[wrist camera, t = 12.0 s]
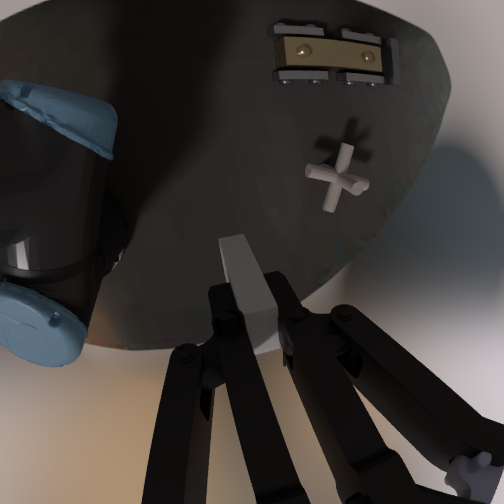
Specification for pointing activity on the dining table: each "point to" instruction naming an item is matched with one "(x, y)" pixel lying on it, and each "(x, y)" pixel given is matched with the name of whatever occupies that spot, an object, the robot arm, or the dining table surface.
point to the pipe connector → (338, 177)
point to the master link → (326, 54)
